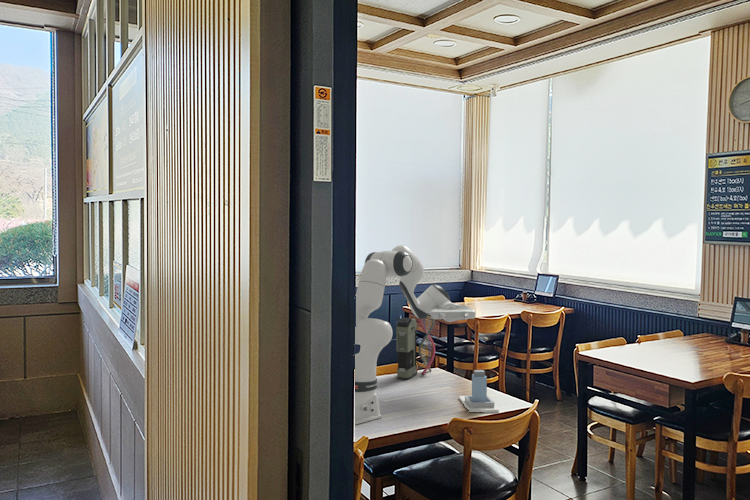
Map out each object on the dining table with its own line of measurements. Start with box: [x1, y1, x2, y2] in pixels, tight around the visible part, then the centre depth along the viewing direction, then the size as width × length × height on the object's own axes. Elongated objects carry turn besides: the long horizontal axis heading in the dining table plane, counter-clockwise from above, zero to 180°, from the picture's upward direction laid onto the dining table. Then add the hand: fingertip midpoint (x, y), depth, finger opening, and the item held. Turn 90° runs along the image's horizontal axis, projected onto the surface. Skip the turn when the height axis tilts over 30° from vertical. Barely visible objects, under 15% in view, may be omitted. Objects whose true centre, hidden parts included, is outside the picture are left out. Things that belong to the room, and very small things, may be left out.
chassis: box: [458, 395, 500, 414], centre depth 242 cm, size 20×12×3 cm, turn 4°
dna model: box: [417, 317, 436, 376], centre depth 296 cm, size 9×9×30 cm
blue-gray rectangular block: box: [471, 369, 488, 402], centre depth 240 cm, size 5×5×14 cm
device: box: [395, 317, 419, 381], centre depth 289 cm, size 14×8×30 cm, turn 156°
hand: (456, 316), depth 252 cm, fingers open, 8 cm apart
